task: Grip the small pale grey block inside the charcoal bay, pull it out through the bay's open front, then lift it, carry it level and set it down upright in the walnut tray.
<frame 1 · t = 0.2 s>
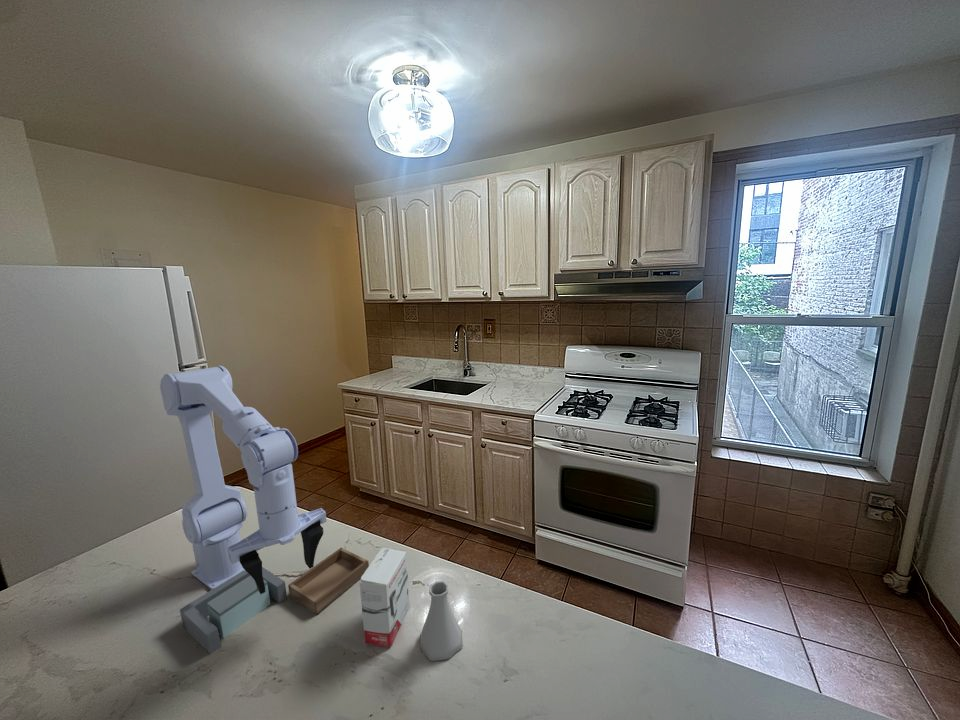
hand: (286, 577, 63), 10 cm above the countertop, tool pointing down, fingers open, 7 cm apart
flask: (441, 642, 61), on the countertop
walnut tray: (331, 583, 74), on the countertop
pale grey block: (239, 603, 66), in the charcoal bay
ink box: (389, 625, 64), on the countertop
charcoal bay: (241, 615, 67), on the countertop
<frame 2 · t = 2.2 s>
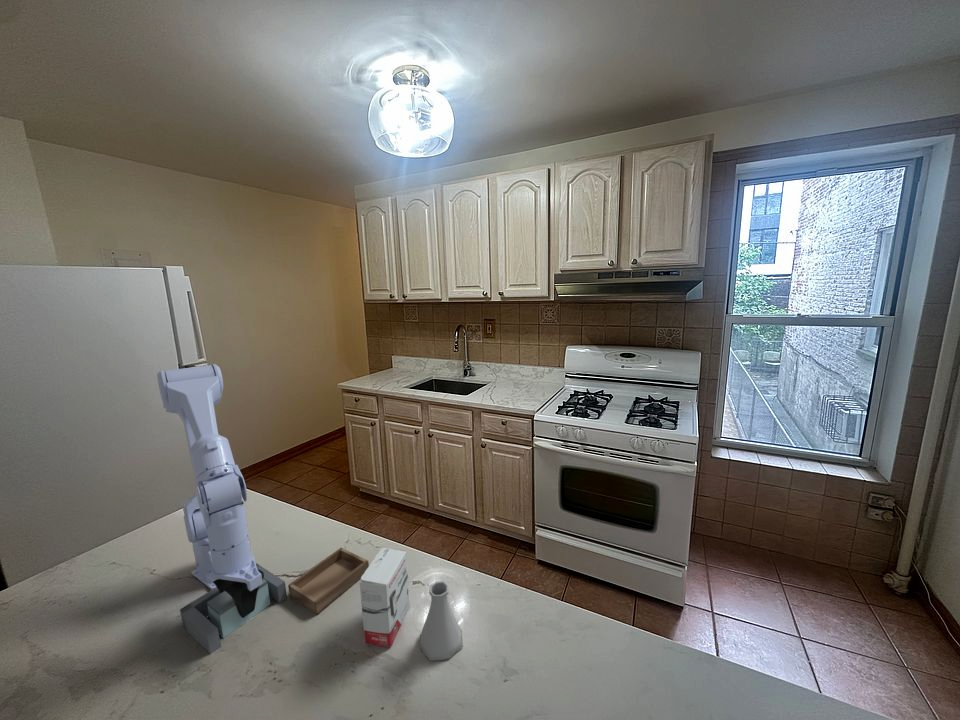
hand: (240, 607, 67), 2 cm above the countertop, tool pointing down, fingers closed on pale grey block, 4 cm apart
pale grey block: (239, 603, 66), in the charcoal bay, touching gripper
everything else where it was.
when the fingers open (4 cm above the countertop, at t = 9.6 s): pale grey block stays where it is, resting on walnut tray.
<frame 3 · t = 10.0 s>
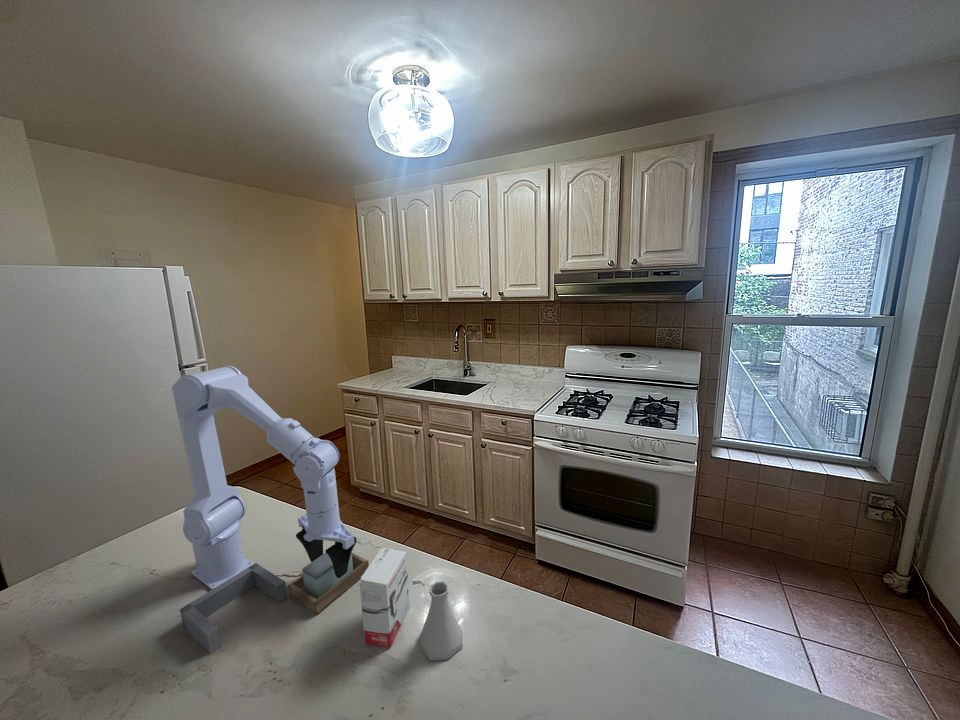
hand: (329, 567, 73), 4 cm above the countertop, tool pointing down, fingers open, 7 cm apart
pale grey block: (328, 570, 73), in the walnut tray
everything else where it was.
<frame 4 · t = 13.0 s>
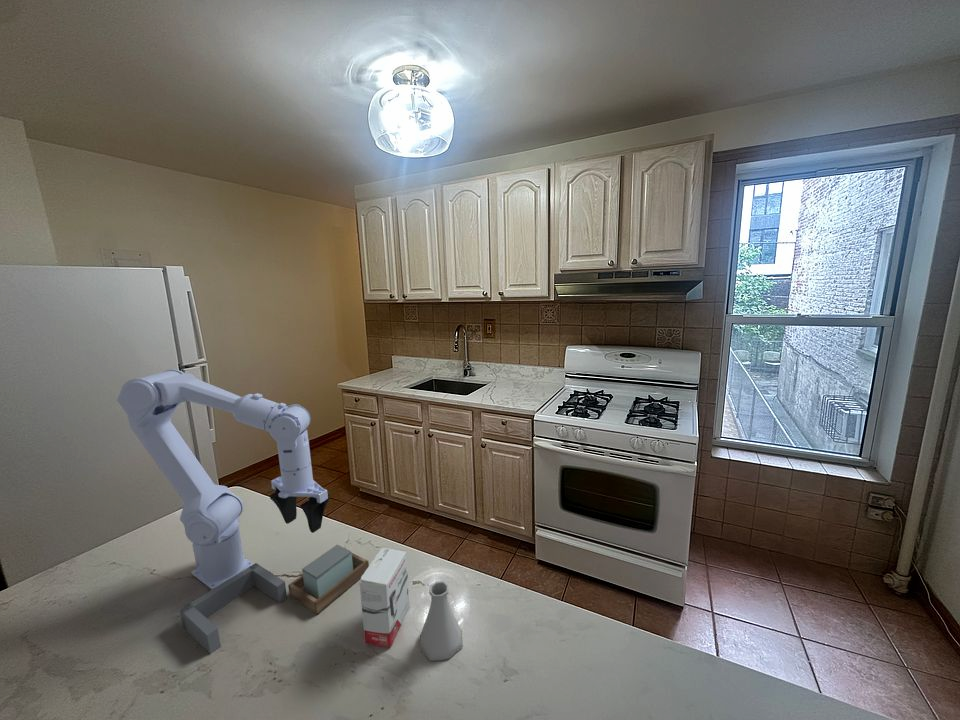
hand: (303, 525, 78), 9 cm above the countertop, tool pointing down, fingers open, 7 cm apart
nothing on the countertop moved.
at the end: pale grey block 0.2 cm off-centre on the walnut tray, point 3.0 cm above the walnut tray's base; pale grey block tilted 0°; the gripper is holding nothing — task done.
